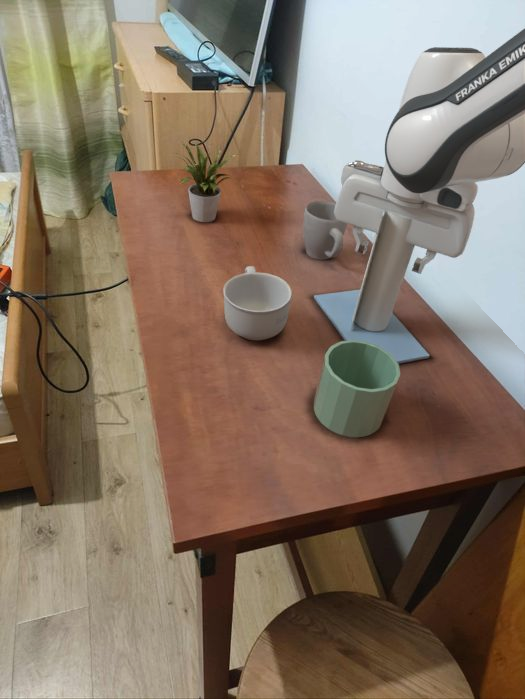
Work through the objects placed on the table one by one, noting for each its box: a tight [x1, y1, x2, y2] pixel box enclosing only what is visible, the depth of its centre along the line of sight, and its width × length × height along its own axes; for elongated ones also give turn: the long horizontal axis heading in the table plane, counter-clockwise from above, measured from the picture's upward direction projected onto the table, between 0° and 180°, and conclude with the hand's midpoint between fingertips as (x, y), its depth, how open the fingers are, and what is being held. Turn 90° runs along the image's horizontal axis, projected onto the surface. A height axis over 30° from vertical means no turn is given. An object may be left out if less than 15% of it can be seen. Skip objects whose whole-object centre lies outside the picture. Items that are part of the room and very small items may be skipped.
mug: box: [302, 200, 348, 261], centre depth 103 cm, size 12×9×10 cm
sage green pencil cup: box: [313, 340, 401, 438], centre depth 70 cm, size 10×10×9 cm
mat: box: [313, 288, 431, 365], centre depth 89 cm, size 20×12×1 cm, turn 20°
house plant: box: [171, 139, 239, 223], centre depth 109 cm, size 14×14×16 cm
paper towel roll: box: [350, 211, 416, 331], centre depth 82 cm, size 7×6×21 cm
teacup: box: [222, 265, 293, 341], centre depth 84 cm, size 14×11×8 cm
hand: (388, 261), depth 81 cm, fingers open, 8 cm apart
